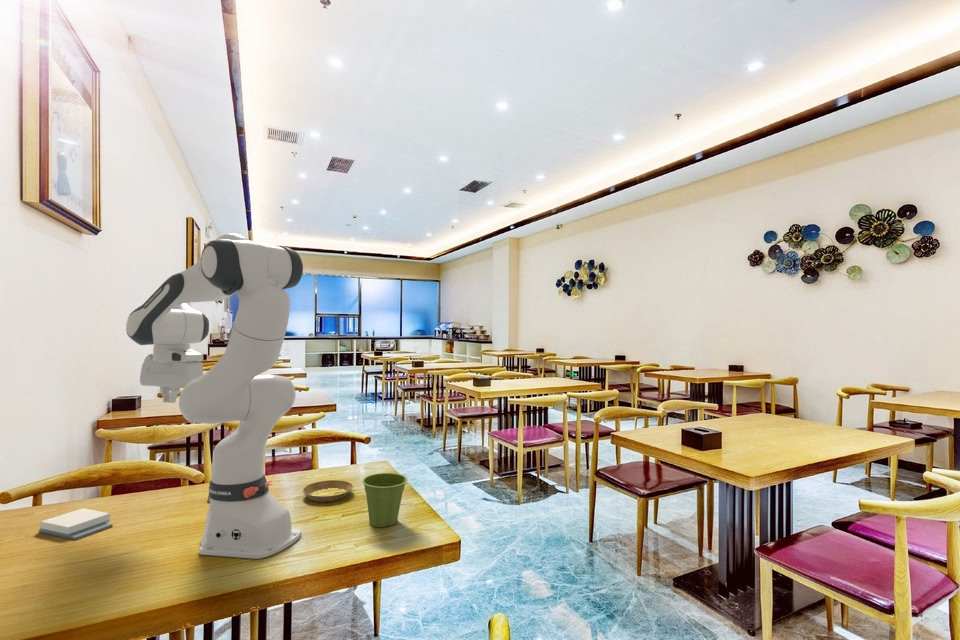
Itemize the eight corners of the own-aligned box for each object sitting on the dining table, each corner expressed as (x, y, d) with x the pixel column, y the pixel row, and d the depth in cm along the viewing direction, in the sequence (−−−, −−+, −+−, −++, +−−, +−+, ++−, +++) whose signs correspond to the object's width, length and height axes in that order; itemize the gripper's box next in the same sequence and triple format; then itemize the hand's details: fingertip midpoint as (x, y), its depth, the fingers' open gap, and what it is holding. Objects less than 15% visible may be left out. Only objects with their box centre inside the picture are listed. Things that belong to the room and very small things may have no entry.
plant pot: (359, 533, 111) (360, 487, 111) (362, 515, 123) (363, 473, 123) (407, 530, 113) (408, 485, 114) (405, 512, 125) (406, 471, 125)
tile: (110, 513, 114) (68, 527, 105) (109, 521, 114) (68, 535, 105) (83, 508, 117) (40, 521, 108) (82, 515, 117) (40, 529, 108)
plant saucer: (361, 490, 143) (361, 482, 143) (336, 507, 128) (337, 498, 128) (320, 486, 146) (320, 478, 146) (291, 502, 132) (292, 493, 132)
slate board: (112, 526, 112) (112, 524, 112) (75, 540, 104) (75, 537, 105) (76, 519, 116) (77, 517, 116) (38, 531, 108) (38, 529, 108)
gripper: (134, 354, 130) (132, 401, 129) (188, 355, 124) (185, 406, 123) (156, 353, 136) (153, 399, 135) (208, 355, 130) (205, 403, 129)
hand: (169, 402), depth 129 cm, fingers closed
